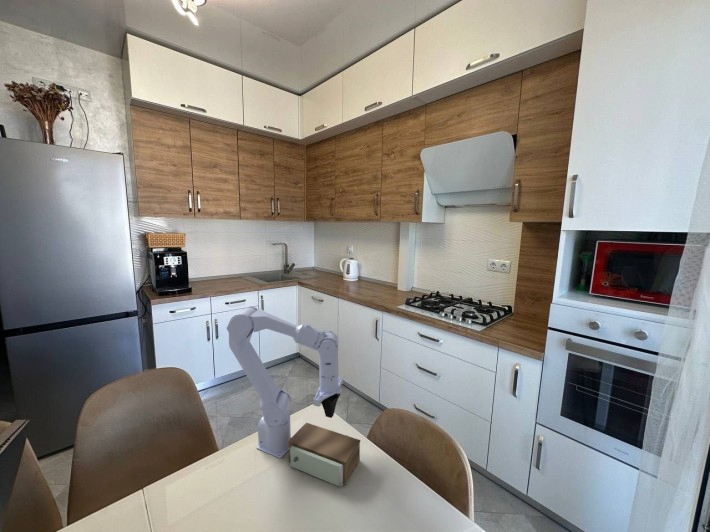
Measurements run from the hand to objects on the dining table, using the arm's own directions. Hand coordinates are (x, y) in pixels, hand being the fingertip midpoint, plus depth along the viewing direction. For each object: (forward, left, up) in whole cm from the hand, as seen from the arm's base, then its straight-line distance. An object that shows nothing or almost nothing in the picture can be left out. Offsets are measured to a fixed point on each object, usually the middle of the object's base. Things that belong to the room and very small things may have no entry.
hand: (329, 415), depth 89 cm
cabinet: (+2, -7, -9) cm, 12 cm away
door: (+3, -12, -9) cm, 16 cm away
